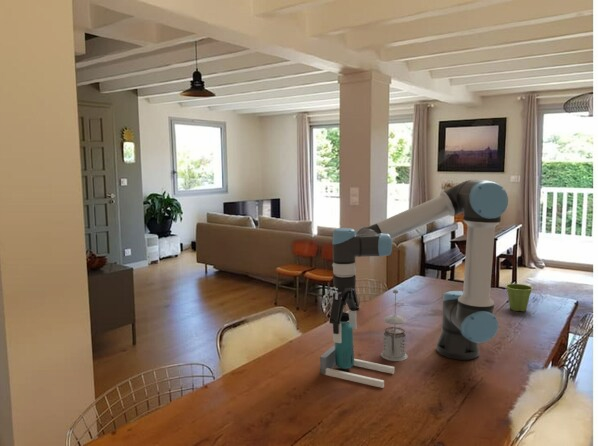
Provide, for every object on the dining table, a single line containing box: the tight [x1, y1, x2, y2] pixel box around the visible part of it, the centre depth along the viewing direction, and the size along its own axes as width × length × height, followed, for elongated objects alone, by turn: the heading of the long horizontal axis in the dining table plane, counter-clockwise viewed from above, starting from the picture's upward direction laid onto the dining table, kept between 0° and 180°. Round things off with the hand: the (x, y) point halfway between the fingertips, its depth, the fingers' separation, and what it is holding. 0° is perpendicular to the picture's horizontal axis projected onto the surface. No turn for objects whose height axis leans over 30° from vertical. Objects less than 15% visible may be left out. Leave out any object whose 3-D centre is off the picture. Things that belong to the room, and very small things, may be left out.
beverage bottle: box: [334, 311, 355, 370], centre depth 160 cm, size 6×7×20 cm
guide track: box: [319, 344, 395, 389], centre depth 158 cm, size 22×12×6 cm, turn 62°
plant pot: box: [505, 283, 534, 312], centre depth 225 cm, size 12×12×11 cm
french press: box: [380, 289, 408, 362], centre depth 171 cm, size 10×12×25 cm
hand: (345, 335), depth 159 cm, fingers open, 13 cm apart
